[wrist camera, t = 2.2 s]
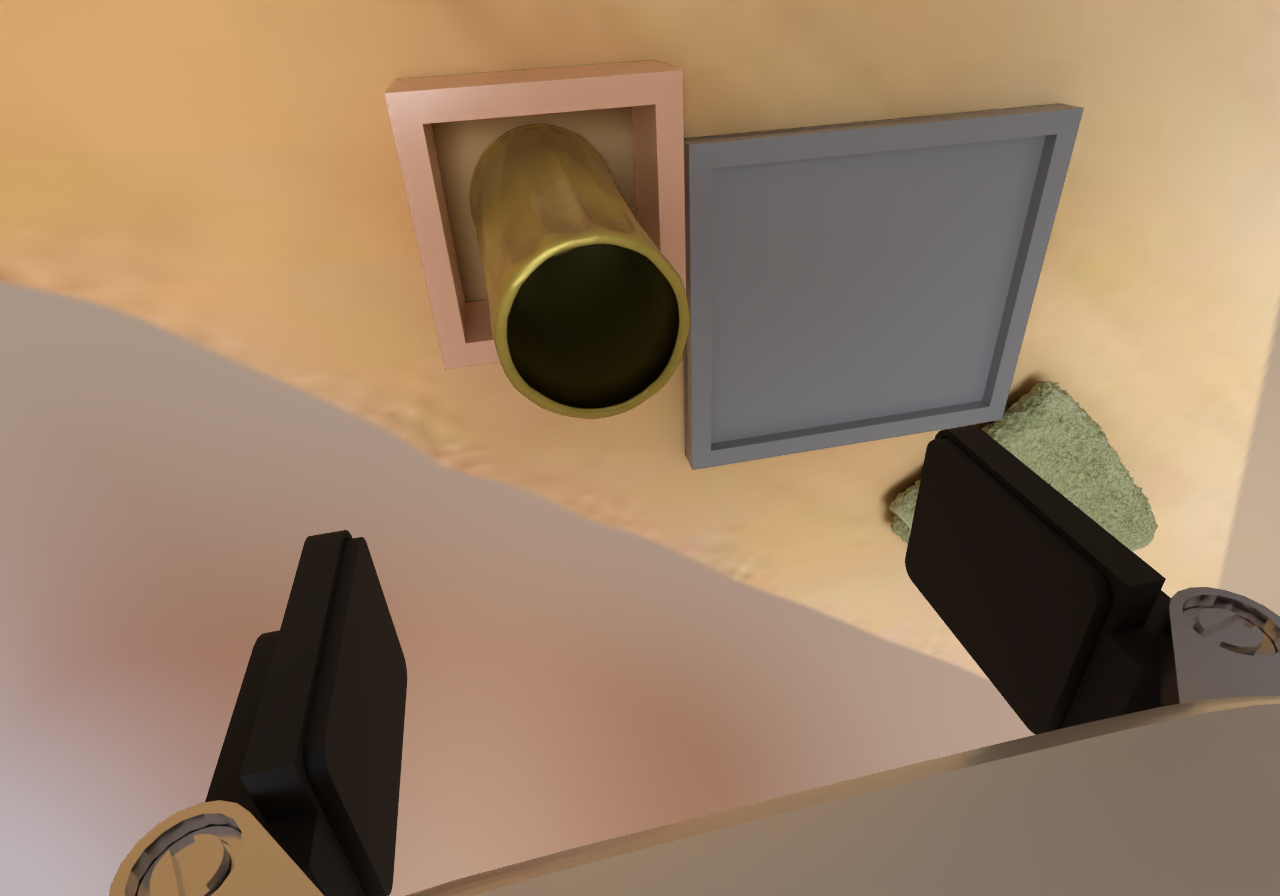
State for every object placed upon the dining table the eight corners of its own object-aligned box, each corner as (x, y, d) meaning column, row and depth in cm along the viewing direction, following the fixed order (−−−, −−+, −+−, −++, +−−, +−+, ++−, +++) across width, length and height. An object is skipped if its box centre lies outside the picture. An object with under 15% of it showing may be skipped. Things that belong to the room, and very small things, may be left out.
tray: (1060, 103, 33) (1083, 108, 32) (985, 406, 42) (1002, 419, 40) (679, 138, 30) (689, 145, 29) (685, 454, 39) (692, 469, 38)
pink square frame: (653, 59, 28) (682, 70, 25) (662, 299, 34) (686, 337, 30) (395, 79, 27) (384, 93, 23) (446, 326, 32) (444, 369, 29)
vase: (605, 113, 29) (702, 196, 17) (621, 260, 33) (712, 412, 21) (454, 135, 28) (449, 236, 17) (486, 282, 32) (502, 453, 20)
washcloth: (990, 620, 53) (1018, 654, 50) (866, 504, 44) (893, 538, 41) (1147, 505, 49) (1186, 534, 47) (1048, 353, 40) (1090, 379, 38)
